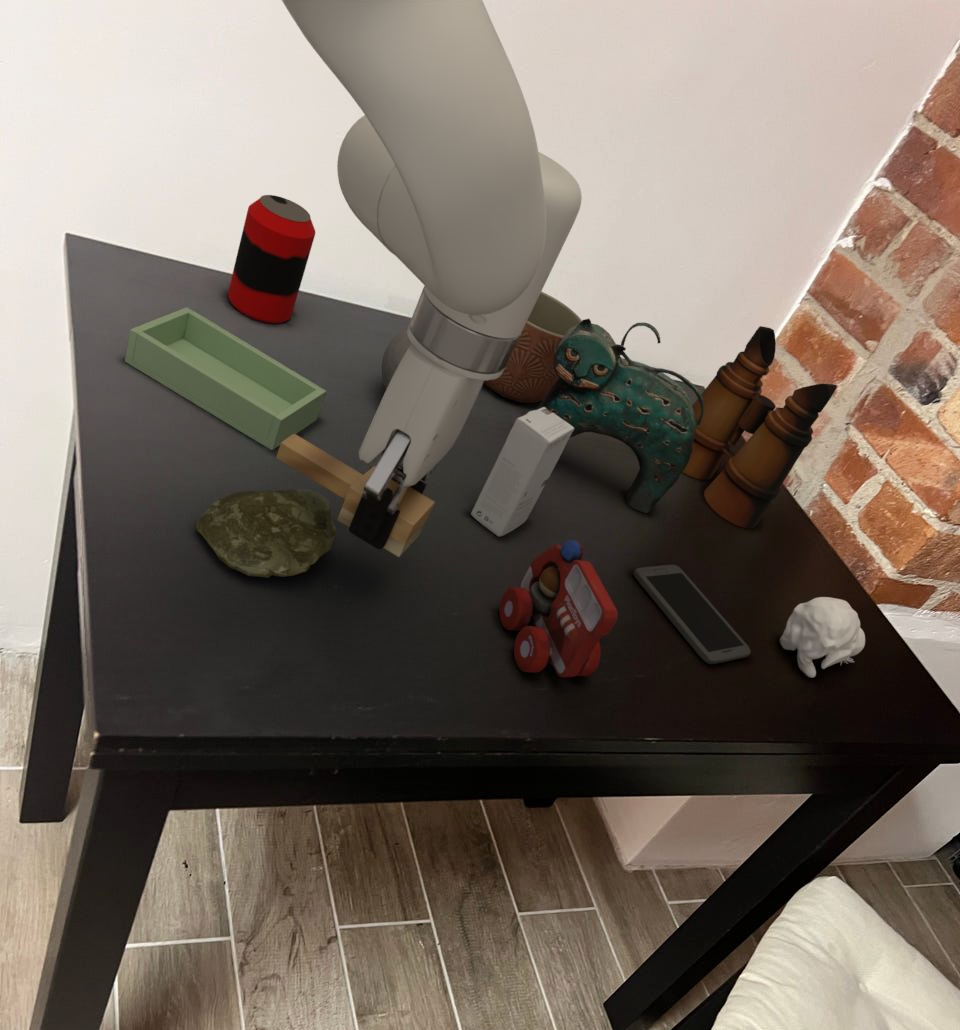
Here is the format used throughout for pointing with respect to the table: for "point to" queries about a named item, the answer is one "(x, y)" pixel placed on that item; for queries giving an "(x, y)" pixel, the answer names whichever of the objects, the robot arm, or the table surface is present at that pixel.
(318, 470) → the brush
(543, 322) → the planter
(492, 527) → the cosmetic box
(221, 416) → the bin
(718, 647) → the cell phone
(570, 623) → the toy fire truck
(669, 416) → the ceramic cat
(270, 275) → the soda can
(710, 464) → the binoculars
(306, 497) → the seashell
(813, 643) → the white frog figurine
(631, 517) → the table surface
